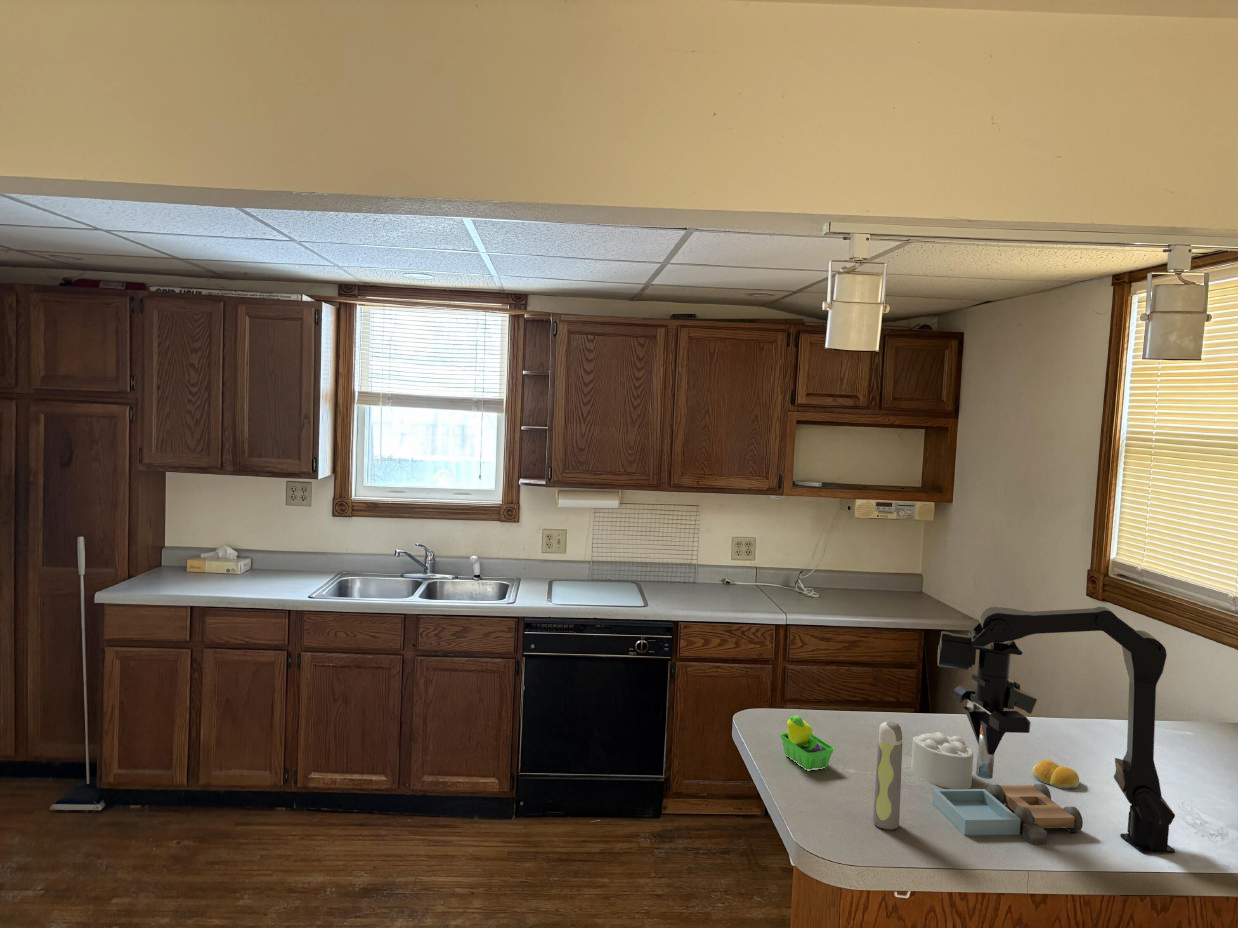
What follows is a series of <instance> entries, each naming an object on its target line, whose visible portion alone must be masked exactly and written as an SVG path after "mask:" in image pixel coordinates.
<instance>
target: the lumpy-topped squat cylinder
mask: <svg viewBox="0 0 1238 928" xmlns="http://www.w3.org/2000/svg"><path fill="white" fill-rule="evenodd" d="M911 748H912V749H911V761H910V762H911V764H910V766H911V767H910V771H911V770H912V771H913V772H912V771H911V772H912V773H913V774H914V773H915V775H916V776H917V775H918V776H917V777H919V778H920V779H923V780H924V781H926V782H928V783H930V784H932V785H935V786H939V787H942V788H945V789H971V787H972V781H973V764H974V752H973V750H972V748H971V747H970V746H969V745H967V743H966V742H965V740H964V739H963V738H962V737H961V736H958V735H953V736H949V735H947V734H944V733H943V732H939V731H936V732H931V733H930V732H929V733H922V734H920V735H916V736H913V737H912V747H911Z"/></svg>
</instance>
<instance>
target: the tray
mask: <svg viewBox="0 0 1238 928" xmlns="http://www.w3.org/2000/svg"><path fill="white" fill-rule="evenodd" d="M932 805H933V806H934V807H935V808H936V809H937V810H938V811H939V812H940V813H941V814H942V815H943V816H944V817H945V818H946V819H947V820H948V821H949V822H950V823H951V824H952V825H953V826H954V827H955V828H956V829H957V830H958V831H959V832H960V833H961V834H962V835H963V836H1015V835H1017V836H1020V835H1021V831H1020V822H1021V819H1020V818H1018V817H1017V816H1016V815H1015V814H1014V811H1013V812H1012V810H1011V809H1009V807H1008V806H1006V805H1005V804H1004V805H1003V804H1002V803H1001V802H999V801H998V800H997V799H996V798H995V797H994V796H992V795H991V794H990V793H989V792H988V791H987V789H986V788H969V789H949V788H945V789H944V788H943V789H936V788H935V789H932Z"/></svg>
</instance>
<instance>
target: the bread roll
mask: <svg viewBox="0 0 1238 928" xmlns="http://www.w3.org/2000/svg"><path fill="white" fill-rule="evenodd" d="M1031 774H1032V776H1033V777H1034V778H1035V779H1036V780H1037V781H1039V782H1041V783H1042V784H1045V785H1051V786H1052V787H1055V788H1057V789H1062V790H1063V789H1065V790H1066V789H1076V788H1077V787H1078V786H1079V783H1080V776H1079V774H1078V773H1077V772H1076V770H1074V769H1073V768H1071V767H1068V766H1064V765H1062V766H1061V765H1058V764H1057V762H1054V761H1052V760H1048V759H1047V760H1046V759H1045V760H1041V761H1039V762H1038V763H1036V764H1035V765H1034V766H1033V767H1032V769H1031Z"/></svg>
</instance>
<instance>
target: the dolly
mask: <svg viewBox="0 0 1238 928" xmlns="http://www.w3.org/2000/svg"><path fill="white" fill-rule="evenodd" d="M986 791H988V792H989V793H990V794H991V795H992V796H994V797H995V798H996V799H997V800H998V801H999V802H1001V803H1002V804H1003V805H1004V806H1006V807H1007V808H1010V810H1011V811H1013V813H1014V814H1015V815H1016V816H1017V817H1018V818H1020V819H1021V822H1020V833H1022V837H1023V838H1024V839H1025V841H1027V842H1028V843H1029V844H1031V845H1047V835H1048V832H1047V831H1046V830H1045V829H1060V828H1061V829H1066V830H1067V831H1069V832H1081V831H1082V828H1083V825H1084V823H1083V816H1082V814H1081V811H1080V810H1079V808H1077V807H1076V806H1064V807H1062V806H1060V805H1059V804H1058V803H1056V802H1055V801H1053V800H1052V795H1051V792H1050V789H1049V787H1048V786H1047V784H1045V783H1036V784H1034V785H1033V784H1021V785H1019V784H1014V785H1013V784H1011V785H1009V784H1007V785H1006V784H1005V785H1003V784H1002V785H1001V784H988V786H987V788H986Z"/></svg>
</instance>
